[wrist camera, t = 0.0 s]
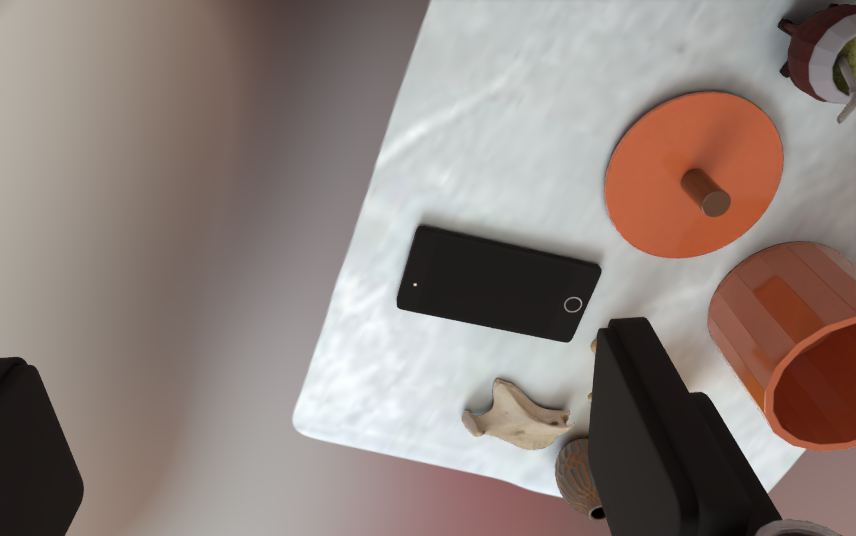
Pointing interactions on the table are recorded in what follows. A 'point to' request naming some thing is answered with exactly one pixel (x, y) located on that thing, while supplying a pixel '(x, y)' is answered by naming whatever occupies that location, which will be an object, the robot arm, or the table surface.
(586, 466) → the vase
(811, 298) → the pot
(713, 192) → the lid
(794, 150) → the table surface
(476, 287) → the cell phone
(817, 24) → the mate gourd
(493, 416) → the fossil
